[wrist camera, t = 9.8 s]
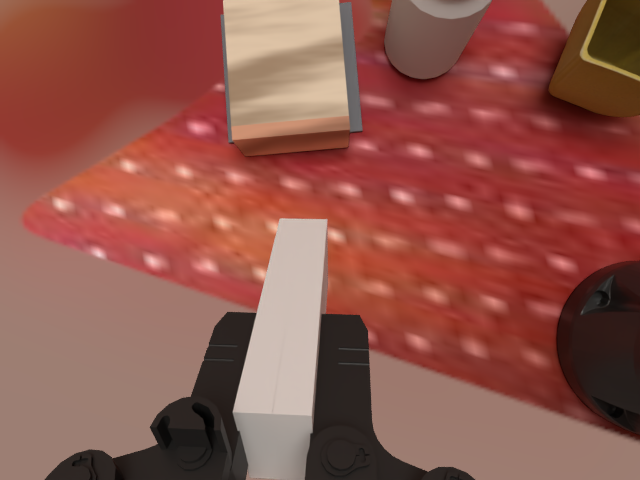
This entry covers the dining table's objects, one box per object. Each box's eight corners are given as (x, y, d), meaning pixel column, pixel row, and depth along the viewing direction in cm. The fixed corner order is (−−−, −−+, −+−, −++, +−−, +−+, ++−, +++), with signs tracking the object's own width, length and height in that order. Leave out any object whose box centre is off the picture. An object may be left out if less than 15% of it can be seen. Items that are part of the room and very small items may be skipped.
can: (445, -1, 41) (491, -114, 29) (470, 69, 40) (528, -17, 28) (372, 23, 41) (388, -80, 29) (397, 93, 40) (423, 18, 28)
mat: (362, 131, 40) (362, 130, 40) (229, 143, 40) (228, 142, 40) (350, 4, 41) (351, 2, 41) (221, 16, 41) (220, 14, 41)
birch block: (350, 129, 35) (336, -29, 36) (232, 140, 35) (221, -17, 36) (348, 147, 40) (336, 8, 41) (244, 156, 40) (235, 18, 41)
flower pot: (643, 57, 39) (734, -6, 31) (611, 139, 39) (693, 101, 30) (555, 24, 40) (619, -47, 31) (523, 105, 40) (578, 57, 31)
